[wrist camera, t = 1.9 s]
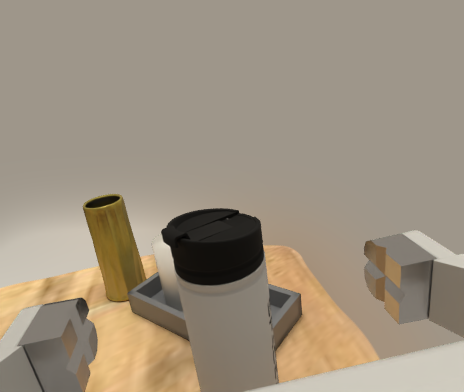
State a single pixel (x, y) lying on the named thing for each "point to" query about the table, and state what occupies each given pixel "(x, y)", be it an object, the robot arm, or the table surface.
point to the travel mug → (224, 298)
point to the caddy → (155, 309)
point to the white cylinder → (166, 273)
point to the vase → (114, 245)
